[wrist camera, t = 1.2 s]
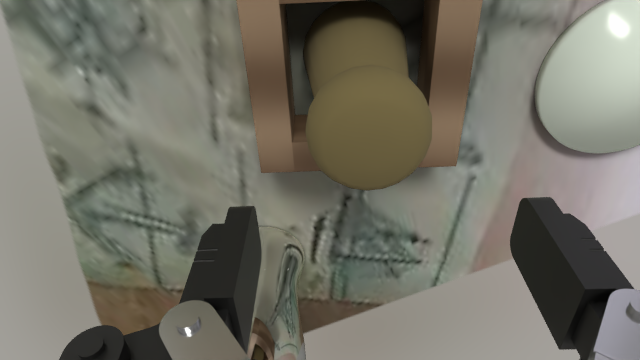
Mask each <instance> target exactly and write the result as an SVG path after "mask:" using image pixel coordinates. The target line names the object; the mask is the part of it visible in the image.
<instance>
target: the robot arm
mask: <svg viewBox="0 0 640 360" xmlns="http://www.w3.org/2000/svg"><path fill="white" fill-rule="evenodd" d="M510 247H511V253H512V256H513V258H514V260H515V262H516V264H517V266H518V268H519V270H520V272H521V274H522V276H523V278H524V280H525V282H526V284H527V286H528V288H529V290H530V292H531V294H532V296H533V298H534V300H535V302H536V303H537V306H538V308H539V310H540V312H541V314H542V316H543V318H544V320H545V322H546V324H547V326H548V328H549V330H550V332H551V334H552V336H553V338H554V340H555V342H556V344H557V346H558V348H559V349H577V351H578V353H579V355H580V359H579V360H640V291H639V290H635V289H634V288H633V287H632V286H631V284H630V283H629V281H628V280H627V279H626V277H625V276H624V275H623V273H622V272H621V271H620V270H619V268H618V267H617V265H616V264H615V263H614V262H613V260H612V259H611V258H610V256H609V255H608V254H607V252H606V251H604V250H603V249H604V248H603V247H602V246H601V244H600V243H599V242H598V241H597V240H595V236H594V235H593V234H592V232H591V231H590V230H589V229H588V227H587V226H586V225H585V224H584V223H582V222H581V221H580V220H578V219H577V218H575V217H574V216H573V215H571V214H563V213H562V211H561V210H560V208H559V207H558V206H557V204H556V203H555V201H554V200H553V199H552V198H550V197H540V198H523V199H522V200H521V201H520V204H519V207H518V211H517V215H516V219H515V222H514V226H513V230H512V234H511V238H510ZM261 258H262V250H261V240H260V234H259V228H258V222H257V215H256V210H255V207H254V206H242V207H230V208H229V209H228V213H227V216H226V220H225V224H212V225H211V226H210V228H209V229H208V230H207V231H206V232H205V233H204V234H203V235H202V237H201V240H200V243H199V246H198V252H196V255H195V258H194V262H193V264H192V267H191V270H190V273H189V276H188V279H187V282H186V285H185V288H184V291H183V294H182V297H181V300H180V303H179V304H178V305H176V306H175V307H173V308H172V309H171V310H169V311H168V312H167V313H166V314H165V316H164V317H163V319H162V320H161V322H160V323H159V324H157V325H155V326H153V327H150V328H147V329H144V330H141V331H137V332H134V333H131V334H127V335H124V336H123V334H122V332H121V331H120V330H119V329H117V328H116V327H113V326H108V325H103V326H97V327H94V328H90V329H88V330H86V331H84V332H82V333H81V334H79V335H77V336H76V337H75V338H74V339H73V340H72V341H71V342H70V343H69V344H68V345H67V346H66V348H65V349H64V351H63V353H62V355H61V357H60V359H59V360H251V359H250V358H249V357H248V356H247V350H248V344H249V337H250V331H251V325H252V318H253V312H254V305H255V299H256V293H257V286H258V280H259V273H260V267H261ZM253 360H256V359H253Z"/></svg>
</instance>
